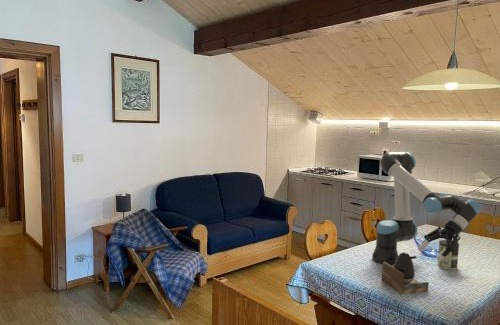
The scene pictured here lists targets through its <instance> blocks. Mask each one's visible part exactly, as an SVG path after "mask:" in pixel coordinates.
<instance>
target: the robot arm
mask: <svg viewBox="0 0 500 325" xmlns="http://www.w3.org/2000/svg"><path fill="white" fill-rule="evenodd" d="M416 164H417V163H416V159H415V156H414V155H413V154H412V153H411V152H407V151H395V152H394V151H390V152H387V153H384V154H383V156H382V157H381V158H380V168H381V170H382V171H383V172H384V173H385V174H387V175H388V176H389V177H392V178H393V183H394V184H393V185H394V186H393V188H394V216H392V220H390V219H386V220H381V221H379V222H377V227H376V240H375V248H374V250H373V252H372V257H371V258H372V260H373V262H375V263H377V264H381V265H383V262H386V263H388V264H389V265H391V266H394V264H395V261H396V259H397V257H398V256H399V253H398V243H400V242H401V243H402V242H405V241H406V242H407V241H410V240H412V239H414V238H415V237H416V236H417V234H418V226H417V224H416V222H414V218H413V217H412V216H411V202H410V200H411V199H410V198H411V197H410V193H411V194H412V195H413V196H415V197H416V198H417V199H418V200H419V201H420V202H422V203H423V207H424V210H425V211H427V212H429V213H439V212H444V211H445V212H446V211H451V212H453V213H455V214H454V215H453V216H452V217H450V219H449V220H448V221H447V222H446V223H445V224H444V228H442V227H441V226H438V227H437V228H435V229H434V230H433V231H431V232H429V233H427V234H425V235H424V236H423V238H424V240H423V241H422V242H421V244H420V245H419V246H418V247H417V250H418V251H419V252H420V253H422V252H423V251H424V250H425V249H426V248H427V247H428V246H429V245H430V244H431V243H432V242H434V241H437V240H439V239H442V240H447V242H446V249H445V248H444V249H443V250H442V251H441V252H440V253H439V252H438V254H437V256H436V257H435V259H436V260H437V262H438V261H439V262H440V261H441V260H442V259H443V258H444V257H445V256H447V254H448V253H450V252H452V253H454V252H455V250H456V247H457V244H458V243H459V241H460V240H461V236H460V234H461V232H463V230H464V229H466V227H467V226H468V225H469V223H471V222H472V221H473V219H474V218H475V217H476V216H478V214H479V213H480V212H481V210H482V206H481V204H480V203H479V202H477V201H476V200H474V199H467V201H464V200H463V199H461V198H459V197H457V196H455V195H453V194H451V193H449V192H443V193H441V194H440V195H439V196H438V195H437V194H435V193H434V192H433V191H432V190H431V189H430V188H428V187H427V186H426V185H424V184H423V183H422V182H421V181H419V180H418V179H417V178H416V177H415V176H414V175H413V172H412V170H414V168H415V167H416Z"/></svg>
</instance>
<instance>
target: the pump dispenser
mask: <svg viewBox="0 0 500 325" xmlns="http://www.w3.org/2000/svg"><path fill="white" fill-rule="evenodd" d="M414 259H417V256H416V255H414V256H412V255H410V254H409V253H408V252H405V251H403V252H400V254H398V257H397V259H396V261H395V264H394V265H393V267H394V268H396V269H397V270H399V271H400V272H402V273H404V284H408V283H411V282H412V280H413V278H414V279H415V267H414V266H415V265H414V262H413V260H414Z"/></svg>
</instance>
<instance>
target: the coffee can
mask: <svg viewBox="0 0 500 325" xmlns="http://www.w3.org/2000/svg"><path fill="white" fill-rule="evenodd" d="M446 242H447V240H446V239H441V240H439V241H438V254H439V253H440V252H441V251H442V250H443V249H444V248H445V249H446ZM459 247H460V243H459V242H458V244H457V247H456V250H455V252H454V253H452V252H450V253H448V254H447V256H445V257H444V258H443V259H442V260H441V261H440V262H439V261H438V260H437V266H438V267H439V268H442V269H444V270H445V269H446V270H450V271H452V270H457V269H458V263H459V262H458V260H459V251H460V250H459Z"/></svg>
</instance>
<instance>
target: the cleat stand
mask: <svg viewBox="0 0 500 325" xmlns="http://www.w3.org/2000/svg"><path fill="white" fill-rule="evenodd" d="M381 271H382V272H381V281H382V282H383V283H385V284H386V285H387V286H388V287H390V288H391V289H392V290H394V291H395V292H397V293H398V294H400V295H406V294H414V293H415V294H416V293H417V294H418V293H427V292H429V282H428V281H421V282H420V281H418V280H416V279H415V277H414V278H413V280H412V282H411V283H408V284H404V273H402V272H400V271H399V270H397V269H396V268H394V266H393V265H389V264H388V263H386V262H383V264H382V268H381Z"/></svg>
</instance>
